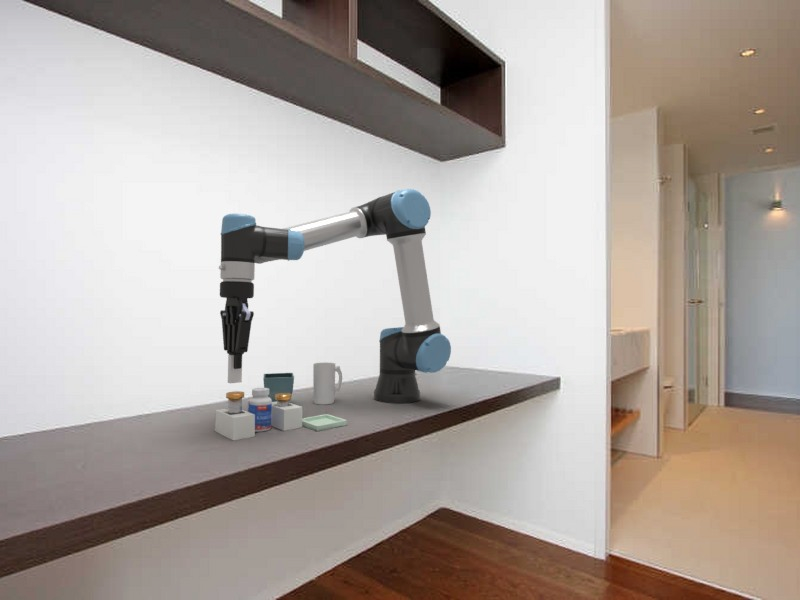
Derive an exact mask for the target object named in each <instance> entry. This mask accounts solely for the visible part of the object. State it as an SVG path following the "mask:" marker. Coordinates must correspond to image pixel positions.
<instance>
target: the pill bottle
mask: <svg viewBox="0 0 800 600" xmlns="http://www.w3.org/2000/svg"><path fill="white" fill-rule="evenodd" d="M251 395H252V397H251V398H249V399H248V410H247V412H250V413H252V414H255V433H260V432H261V433H262V432H266V431H270V430H271V429H272V426H271V410H272V400H271V398H270V397H268V395H269V388H264V387H254V388H252V389H251Z"/></svg>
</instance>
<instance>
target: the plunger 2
mask: <svg viewBox="0 0 800 600" xmlns="http://www.w3.org/2000/svg"><path fill="white" fill-rule="evenodd" d="M292 397H293V393H292V394H290V393H279V394H275V399H276V400H277V406H278V407H286V406H289V403H290V401H289V399H290V400H292Z"/></svg>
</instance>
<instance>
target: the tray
mask: <svg viewBox="0 0 800 600" xmlns="http://www.w3.org/2000/svg"><path fill="white" fill-rule="evenodd" d="M344 426H348V420H347V419H344V418H341V417H339V416H334V415H331V414H329V413H326V414H325V413H324V414H320V415H314V416H307V417H304V418H303V417H302V427H305V428H307V429H309V430H313V431H316V432H321V431H325V430H331V429H335V428H340V427H344Z"/></svg>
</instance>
